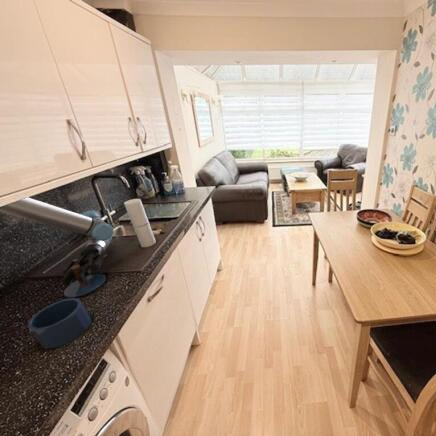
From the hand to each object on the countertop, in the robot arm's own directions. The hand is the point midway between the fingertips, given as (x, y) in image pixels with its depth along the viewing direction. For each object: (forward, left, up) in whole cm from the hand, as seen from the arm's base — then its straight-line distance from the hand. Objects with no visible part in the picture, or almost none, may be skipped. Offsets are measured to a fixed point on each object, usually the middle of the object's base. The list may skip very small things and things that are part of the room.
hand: (73, 281), depth 90 cm
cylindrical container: (+25, +29, -8) cm, 39 cm away
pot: (-1, -19, -8) cm, 20 cm away
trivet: (+1, +5, -8) cm, 9 cm away
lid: (+1, +5, -6) cm, 8 cm away
